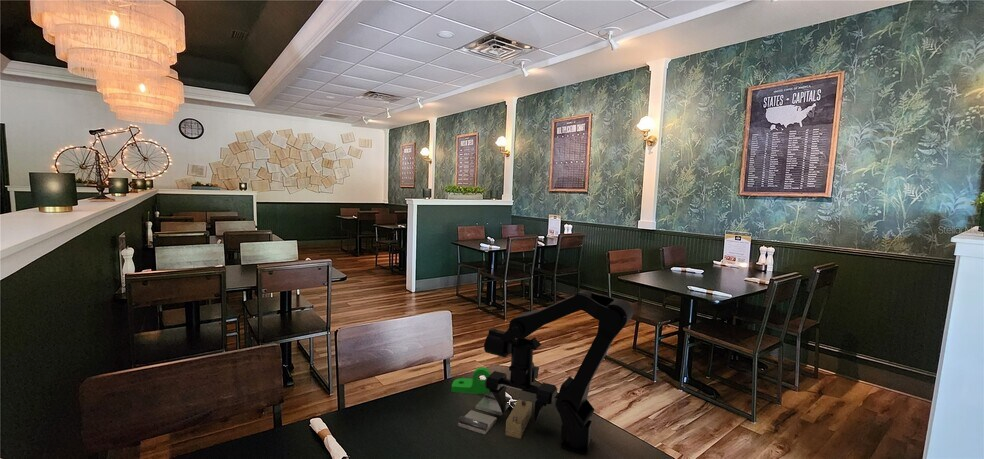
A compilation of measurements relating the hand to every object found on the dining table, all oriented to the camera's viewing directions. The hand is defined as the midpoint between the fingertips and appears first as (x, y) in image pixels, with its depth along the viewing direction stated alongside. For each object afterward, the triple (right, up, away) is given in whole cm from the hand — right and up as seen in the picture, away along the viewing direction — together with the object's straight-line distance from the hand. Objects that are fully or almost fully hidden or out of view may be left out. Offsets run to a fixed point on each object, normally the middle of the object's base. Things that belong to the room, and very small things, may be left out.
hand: (519, 417), depth 111 cm
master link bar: (0, -2, 0) cm, 2 cm away
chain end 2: (-11, -2, 0) cm, 11 cm away
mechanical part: (-14, 0, +19) cm, 24 cm away
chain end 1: (-7, -1, +9) cm, 11 cm away
